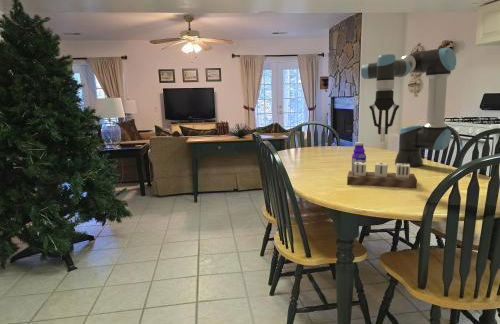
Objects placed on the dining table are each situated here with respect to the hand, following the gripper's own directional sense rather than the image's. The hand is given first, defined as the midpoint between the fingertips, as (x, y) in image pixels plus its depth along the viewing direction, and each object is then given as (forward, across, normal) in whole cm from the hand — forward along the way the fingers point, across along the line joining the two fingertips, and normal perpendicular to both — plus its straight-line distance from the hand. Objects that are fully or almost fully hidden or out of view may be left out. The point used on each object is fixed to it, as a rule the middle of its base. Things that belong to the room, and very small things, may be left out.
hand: (382, 141), depth 155 cm
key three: (+17, +9, 0) cm, 19 cm away
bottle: (+21, -11, +16) cm, 28 cm away
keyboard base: (+20, 0, 0) cm, 20 cm away
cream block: (+17, 0, 0) cm, 17 cm away
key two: (+17, -10, 0) cm, 19 cm away
